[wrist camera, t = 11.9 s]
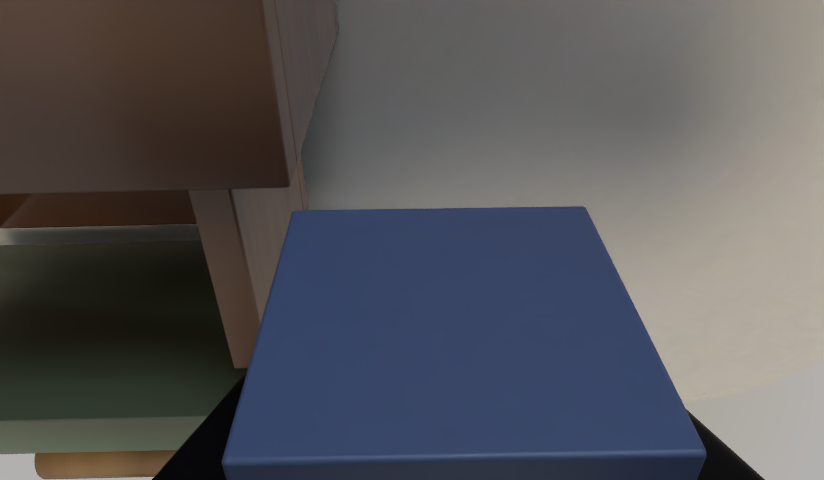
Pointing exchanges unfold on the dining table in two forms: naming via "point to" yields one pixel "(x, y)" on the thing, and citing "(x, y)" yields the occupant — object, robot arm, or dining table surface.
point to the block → (455, 355)
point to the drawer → (131, 322)
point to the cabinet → (158, 92)
